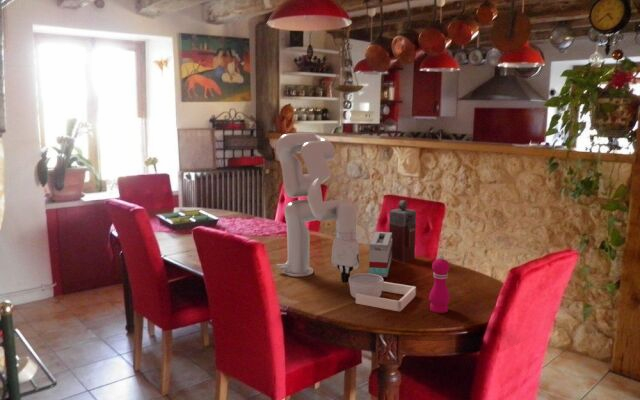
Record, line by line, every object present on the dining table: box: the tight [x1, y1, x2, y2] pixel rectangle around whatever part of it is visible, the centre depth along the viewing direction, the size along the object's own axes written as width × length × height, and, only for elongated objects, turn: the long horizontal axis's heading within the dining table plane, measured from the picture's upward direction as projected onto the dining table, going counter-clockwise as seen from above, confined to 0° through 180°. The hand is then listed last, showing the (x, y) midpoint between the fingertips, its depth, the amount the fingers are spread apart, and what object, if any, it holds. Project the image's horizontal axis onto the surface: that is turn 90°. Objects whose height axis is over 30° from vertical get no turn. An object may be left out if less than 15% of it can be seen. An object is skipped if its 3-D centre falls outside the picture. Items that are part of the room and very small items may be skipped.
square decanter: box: [388, 199, 417, 263], centre depth 245 cm, size 9×11×28 cm
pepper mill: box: [428, 254, 451, 314], centre depth 183 cm, size 7×7×20 cm
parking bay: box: [355, 281, 417, 313], centre depth 195 cm, size 17×18×4 cm
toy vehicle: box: [368, 231, 393, 278], centre depth 231 cm, size 8×30×15 cm, turn 169°
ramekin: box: [348, 272, 385, 300], centre depth 198 cm, size 13×13×7 cm
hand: (345, 281), depth 202 cm, fingers closed
